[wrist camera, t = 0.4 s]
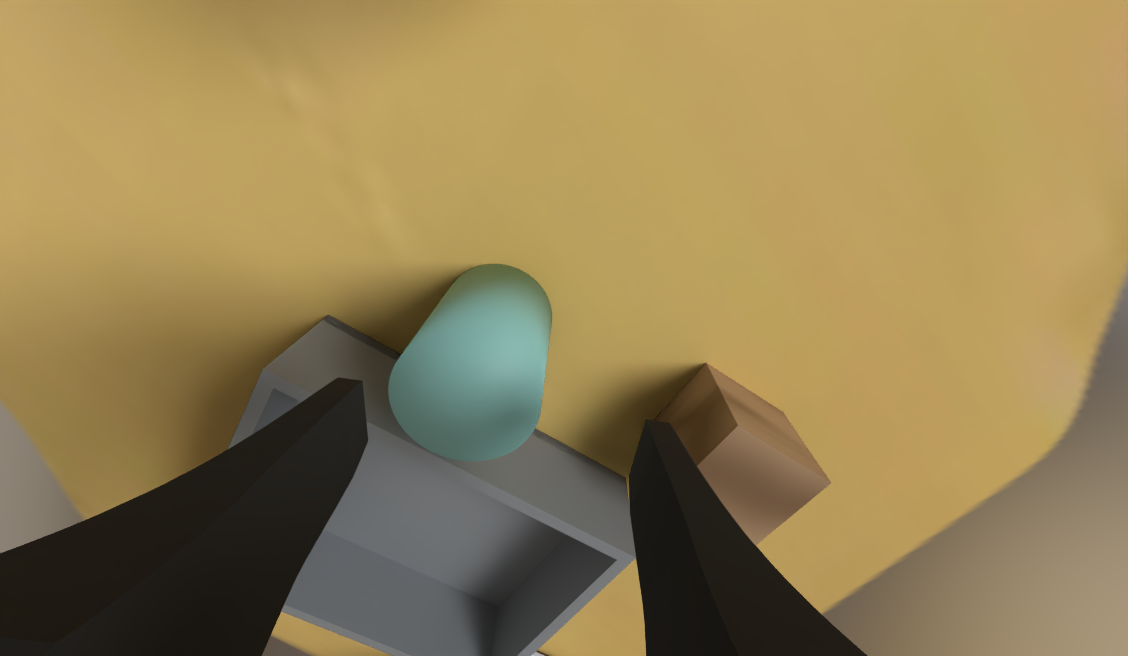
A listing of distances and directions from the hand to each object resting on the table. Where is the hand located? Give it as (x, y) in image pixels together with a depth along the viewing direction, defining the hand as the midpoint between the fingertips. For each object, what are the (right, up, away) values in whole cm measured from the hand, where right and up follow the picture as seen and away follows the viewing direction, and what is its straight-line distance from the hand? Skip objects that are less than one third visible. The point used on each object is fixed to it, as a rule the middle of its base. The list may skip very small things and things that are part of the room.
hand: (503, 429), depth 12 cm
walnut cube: (+9, -2, +12) cm, 15 cm away
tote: (-6, -6, +14) cm, 16 cm away
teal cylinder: (-1, +3, +10) cm, 10 cm away
